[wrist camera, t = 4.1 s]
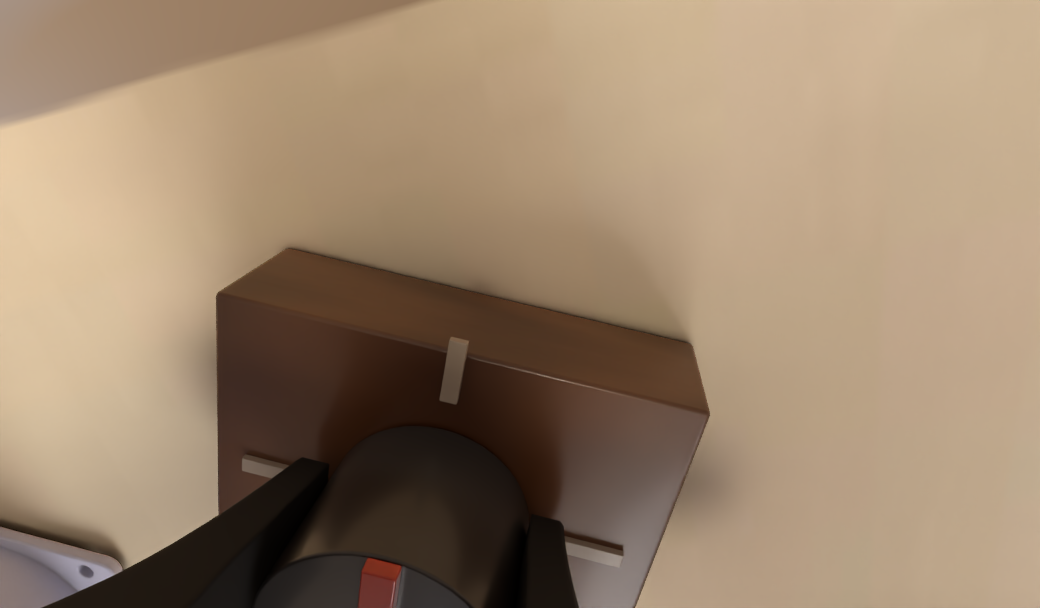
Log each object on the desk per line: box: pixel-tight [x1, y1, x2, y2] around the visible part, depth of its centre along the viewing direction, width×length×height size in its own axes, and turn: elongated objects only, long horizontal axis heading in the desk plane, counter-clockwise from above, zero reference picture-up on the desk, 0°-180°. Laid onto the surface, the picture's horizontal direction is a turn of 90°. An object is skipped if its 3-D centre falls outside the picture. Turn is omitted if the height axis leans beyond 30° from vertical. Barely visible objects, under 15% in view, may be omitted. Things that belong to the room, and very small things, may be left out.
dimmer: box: [216, 248, 710, 608], centre depth 15 cm, size 10×9×3 cm
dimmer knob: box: [252, 426, 529, 608], centre depth 12 cm, size 4×4×4 cm
